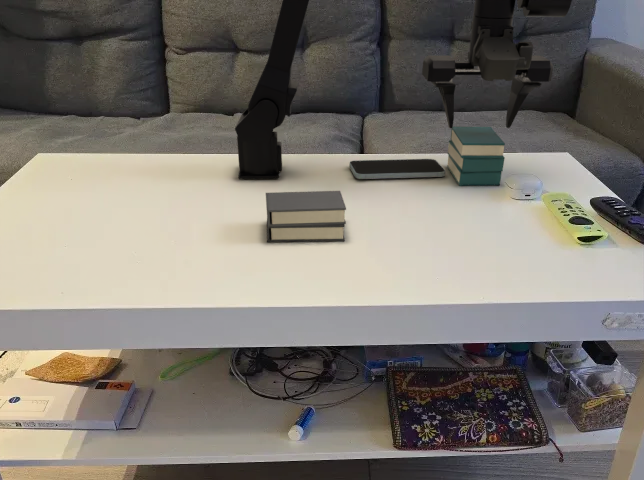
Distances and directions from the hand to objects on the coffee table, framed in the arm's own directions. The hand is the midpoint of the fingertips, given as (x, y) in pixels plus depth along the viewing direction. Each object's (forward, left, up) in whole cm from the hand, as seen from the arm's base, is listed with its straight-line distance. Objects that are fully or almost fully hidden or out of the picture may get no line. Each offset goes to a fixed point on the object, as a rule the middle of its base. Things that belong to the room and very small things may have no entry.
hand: (479, 127), depth 105 cm
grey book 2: (-28, -23, -8) cm, 37 cm away
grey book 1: (-28, -23, -6) cm, 37 cm away
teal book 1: (0, 0, -3) cm, 3 cm away
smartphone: (-13, +2, -8) cm, 15 cm away
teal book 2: (0, 0, -6) cm, 6 cm away
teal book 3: (0, 0, -8) cm, 8 cm away
